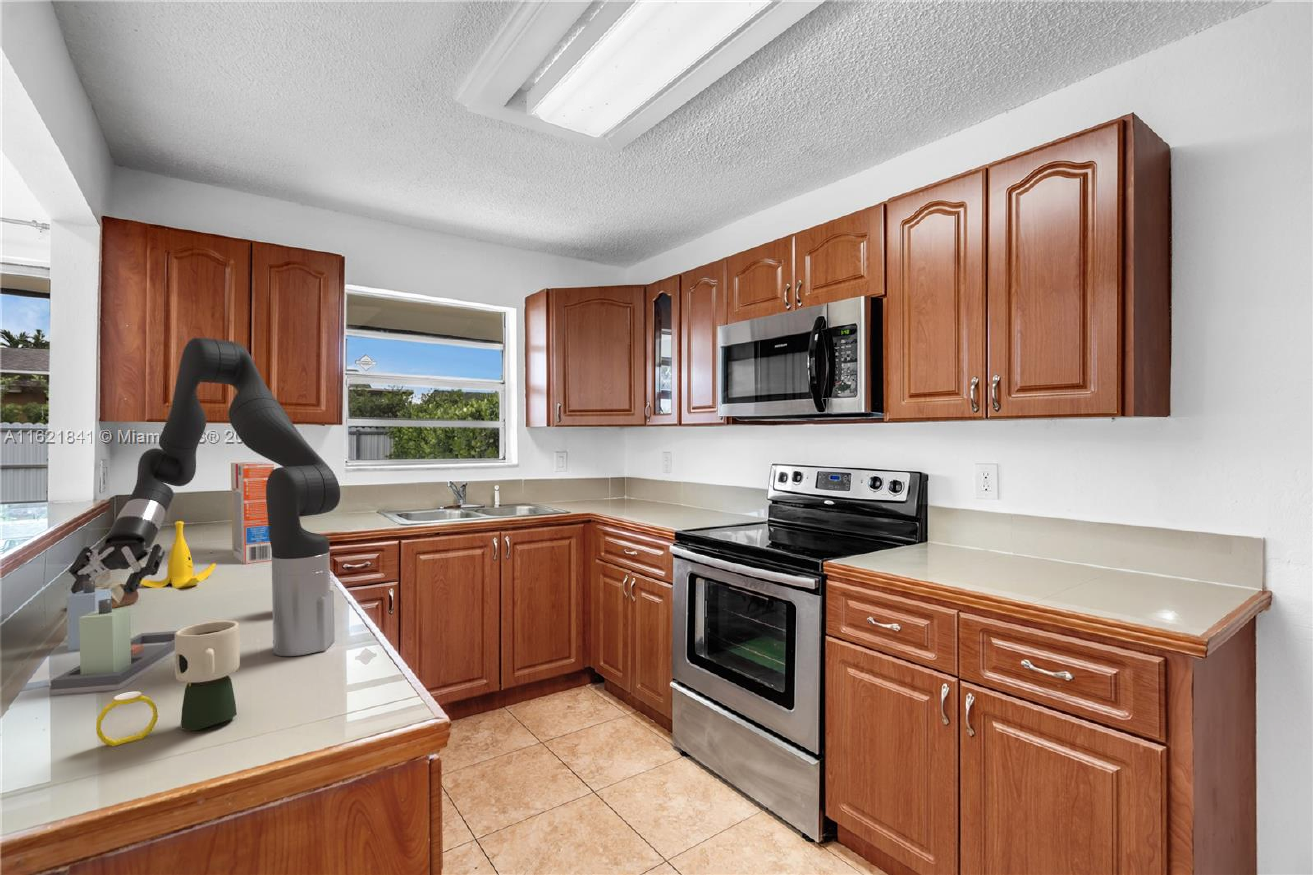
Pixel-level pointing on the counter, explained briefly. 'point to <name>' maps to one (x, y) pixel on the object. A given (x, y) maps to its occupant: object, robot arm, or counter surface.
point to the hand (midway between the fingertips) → (102, 593)
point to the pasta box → (250, 512)
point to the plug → (82, 609)
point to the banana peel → (180, 565)
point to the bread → (120, 594)
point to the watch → (122, 700)
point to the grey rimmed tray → (144, 657)
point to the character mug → (207, 672)
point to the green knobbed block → (105, 639)
